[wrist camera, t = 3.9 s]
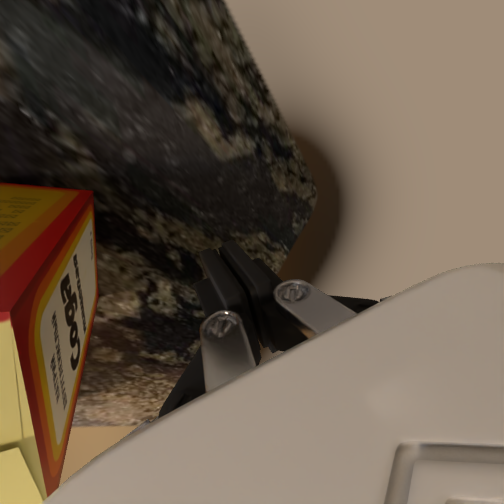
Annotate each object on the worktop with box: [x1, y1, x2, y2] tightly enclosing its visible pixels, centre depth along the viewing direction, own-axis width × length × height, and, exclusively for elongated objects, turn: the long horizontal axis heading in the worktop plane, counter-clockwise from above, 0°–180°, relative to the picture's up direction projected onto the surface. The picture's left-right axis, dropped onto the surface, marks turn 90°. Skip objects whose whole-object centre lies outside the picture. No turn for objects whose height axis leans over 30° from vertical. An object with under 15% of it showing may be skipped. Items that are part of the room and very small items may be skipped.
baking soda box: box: [0, 182, 99, 504], centre depth 13 cm, size 10×6×16 cm
